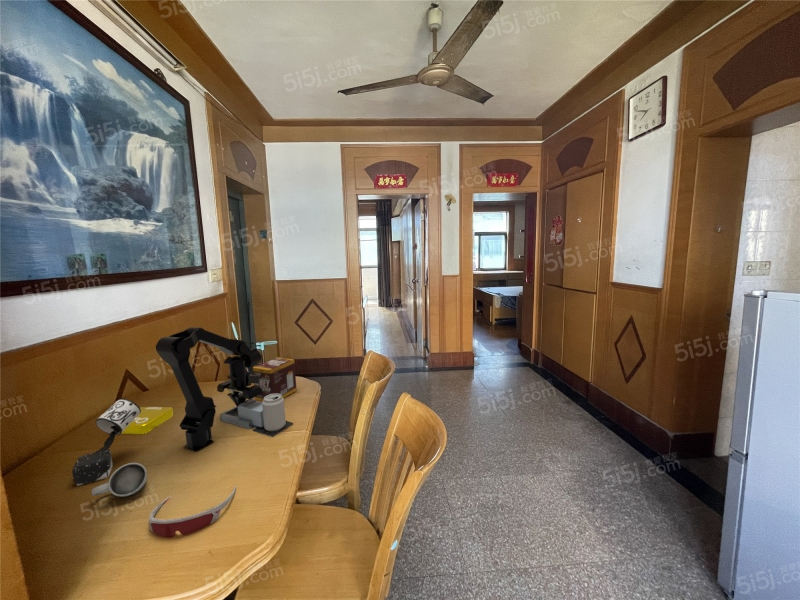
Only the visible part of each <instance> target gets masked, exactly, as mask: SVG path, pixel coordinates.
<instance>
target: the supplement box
mask: <svg viewBox="0 0 800 600" xmlns="http://www.w3.org/2000/svg"><path fill="white" fill-rule="evenodd" d="M295 363H296V362H295V359H292V358H286V357H279V356H278V357H277V356H276V357H275V358H273V359H269V360H268V361H267V360H266V361H265V362H262V363H259V364H258V365H257V364H256V365H254V366H252V374H253V375H258V376H260V378H259V383H258V384H256V383H253V386H258V387H261V388H262V394H260V395H258V396H256V397H255V400H256V401H258V402H263V400H264V397H265V396H267V395H270V394H275V393H277V394H281V395H282V397H283V398H284V399H285V398H286V397H288V396H290V395H291V394H293V393H296V391H297V379H296V378H297V377H296V367H295V366H296V364H295Z"/></svg>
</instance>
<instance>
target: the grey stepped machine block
mask: <svg viewBox="0 0 800 600" xmlns="http://www.w3.org/2000/svg"><path fill="white" fill-rule="evenodd" d="M237 407H238V417H239V418H242V419H246V420H249V421H252V425H255V426H258V427H263V426H264V419H263V408H262V402H261V401H257V400H256V399H255V398H252V399H246V401H244V402H242V403H240V404H239V406H237Z"/></svg>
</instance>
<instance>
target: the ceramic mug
mask: <svg viewBox="0 0 800 600" xmlns="http://www.w3.org/2000/svg"><path fill="white" fill-rule="evenodd" d="M147 475H148V471H147V468H146V466H144V465H143V464H141V463H139V462H129V463H126V464H124V465H121V466H119V467H118V468H117V469H116V470H114V471H113V473H112V474H111V475H110V476H109V477H110V478H109V480H108V481H107V482H105V483H103V484H100V485H98V486H96V487H93V488H92V489H91V496H92V497H94V496H99V495H103V494H106V493H111V494H112V495H113V496H116V497H122V498H123V497H129V496H132V495H134V494H136V493H137V492H139V491H140V490H142V489H143V487H144V486H145V484H146V483H147V479H148V477H147Z"/></svg>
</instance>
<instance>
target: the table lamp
mask: <svg viewBox="0 0 800 600" xmlns="http://www.w3.org/2000/svg"><path fill="white" fill-rule="evenodd" d="M140 407H141V406H139V405H138V404H137V403H135V402H134V401H133V400H130V399H126V398H118V400H116V401H115V402H114V403H113V404H112V405H111V406H110V407H108V409H107V410H105V411H104V413H102V414H101V415H100V416H98V418H97V419H96V420H95V425H96V426H97V428H98V429H99V430H101V431H102V432H104V433H107V434H109V436H108V437H107V438H106V440H104V443H103V446H102V447H101V448H100V449H99V450H96V451H95V452H93V453H87V454H84V455H81V456H80V457H78V458H77V461H76V462H75V464H74V465H73V466H72V471H71V474H72V478H73V479H72V480H73V483H74V484H76V487H78V486H82V485H88V484H90V483H95V482H96V481H99V480H100V481H101V480H103V479H107V478H109V477H110V474H111V471H112V469H113V465H114V463H113V457H112V452H111V448H110V447H111V446H112V445H113V443H114V441H115V437H116V436H119V435H122V434H121V433H122V432H123V431H124V430H125V429H126V428H127V426H128V425H129V424H130V423H131V422H132V421H133V420H134V419H135V418H136V417H137V416H138V415H139V414H140V413H141V409H140Z"/></svg>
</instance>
